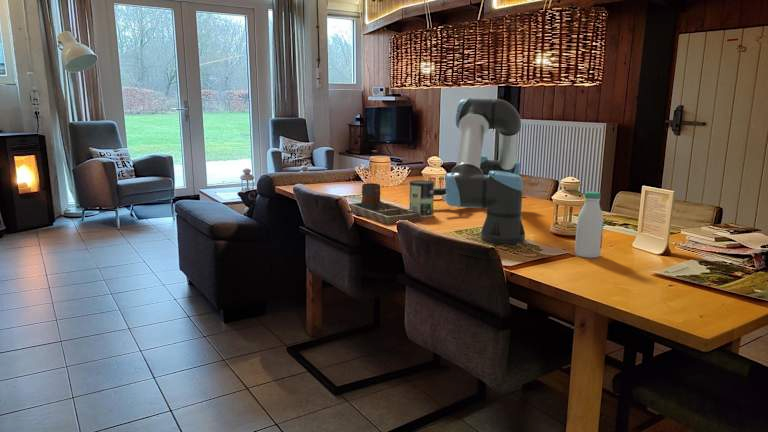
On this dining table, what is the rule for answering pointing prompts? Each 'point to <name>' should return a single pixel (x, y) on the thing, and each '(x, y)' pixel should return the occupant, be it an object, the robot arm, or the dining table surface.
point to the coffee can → (422, 197)
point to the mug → (371, 197)
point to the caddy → (387, 213)
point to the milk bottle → (589, 227)
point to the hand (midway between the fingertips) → (430, 196)
